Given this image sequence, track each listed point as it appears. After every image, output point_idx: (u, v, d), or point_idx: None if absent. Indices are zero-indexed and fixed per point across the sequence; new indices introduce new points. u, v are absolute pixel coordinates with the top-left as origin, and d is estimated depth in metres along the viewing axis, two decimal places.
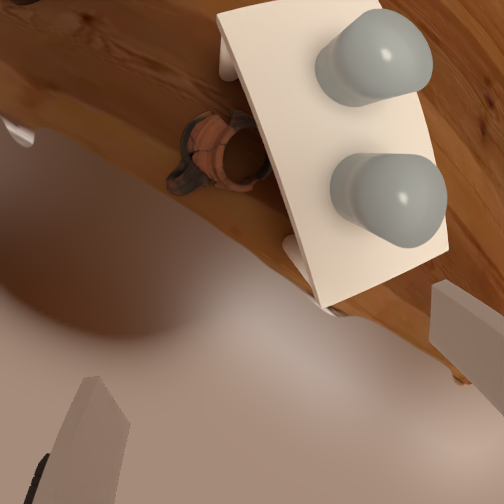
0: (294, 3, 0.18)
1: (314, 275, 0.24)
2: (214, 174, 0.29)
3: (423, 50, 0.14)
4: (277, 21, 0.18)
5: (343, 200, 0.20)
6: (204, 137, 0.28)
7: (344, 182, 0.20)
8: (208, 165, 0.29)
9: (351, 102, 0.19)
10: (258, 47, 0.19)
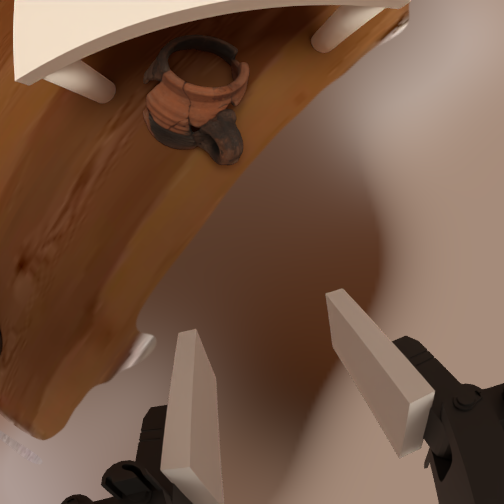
0: (20, 4, 0.10)
1: None
2: (222, 101, 0.21)
3: None
4: (37, 14, 0.11)
5: None
6: (172, 109, 0.21)
7: None
8: (209, 106, 0.21)
9: None
10: (64, 26, 0.11)
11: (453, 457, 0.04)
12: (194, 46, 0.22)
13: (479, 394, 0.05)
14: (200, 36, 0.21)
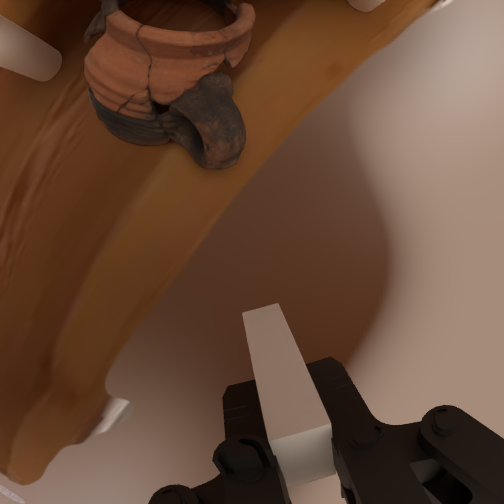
0: None
1: None
2: (208, 58, 0.11)
3: None
4: None
5: None
6: (120, 74, 0.10)
7: None
8: (184, 66, 0.11)
9: None
10: None
11: (355, 498, 0.05)
12: None
13: (381, 430, 0.06)
14: None
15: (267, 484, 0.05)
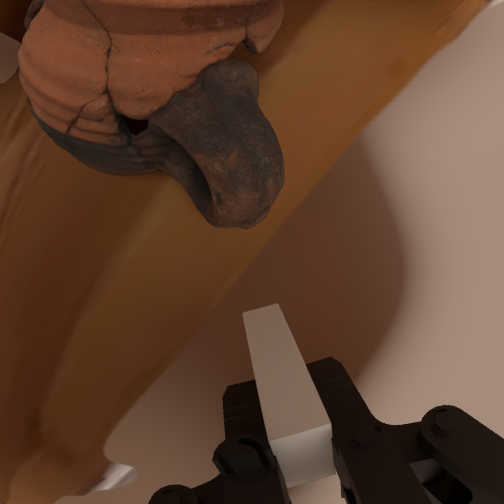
0: None
1: None
2: (217, 32, 0.06)
3: None
4: None
5: None
6: (60, 70, 0.05)
7: None
8: (172, 48, 0.06)
9: None
10: None
11: (355, 498, 0.05)
12: None
13: (381, 429, 0.06)
14: None
15: (267, 484, 0.05)
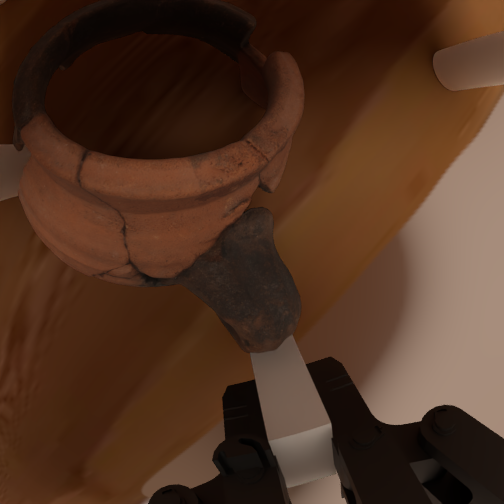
0: None
1: None
2: (231, 194, 0.07)
3: None
4: None
5: None
6: (76, 241, 0.06)
7: None
8: (189, 221, 0.07)
9: None
10: None
11: (356, 498, 0.05)
12: (136, 23, 0.07)
13: (381, 429, 0.06)
14: None
15: (267, 484, 0.05)
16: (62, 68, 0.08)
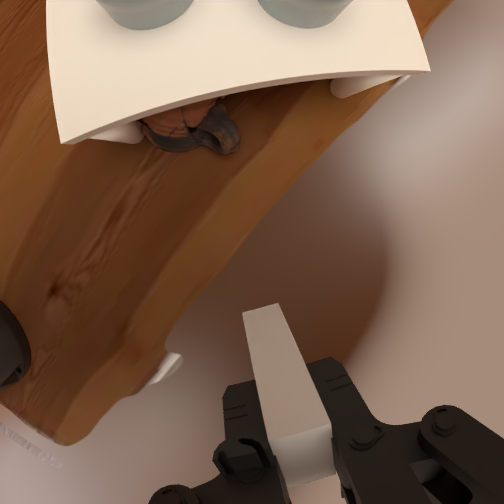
0: (55, 57, 0.14)
1: (395, 67, 0.16)
2: None
3: None
4: (76, 74, 0.14)
5: (318, 11, 0.12)
6: (167, 117, 0.23)
7: (296, 6, 0.12)
8: (199, 106, 0.23)
9: None
10: (108, 93, 0.15)
11: (355, 498, 0.05)
12: None
13: (381, 429, 0.06)
14: None
15: (267, 484, 0.05)
16: None
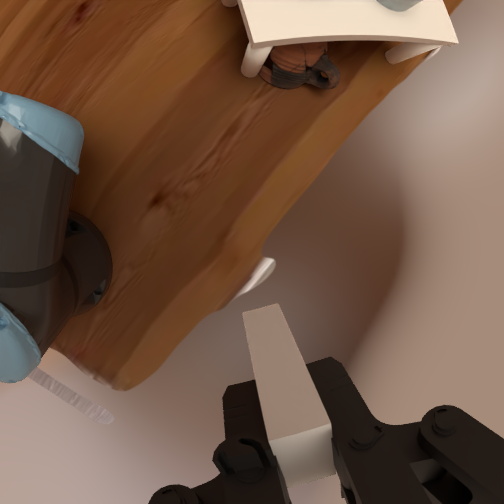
0: None
1: (440, 39, 0.23)
2: (321, 49, 0.30)
3: None
4: (264, 4, 0.21)
5: (407, 3, 0.20)
6: (294, 56, 0.30)
7: None
8: (315, 52, 0.30)
9: None
10: (289, 21, 0.22)
11: (355, 498, 0.05)
12: None
13: (381, 429, 0.06)
14: None
15: (267, 484, 0.05)
16: None
